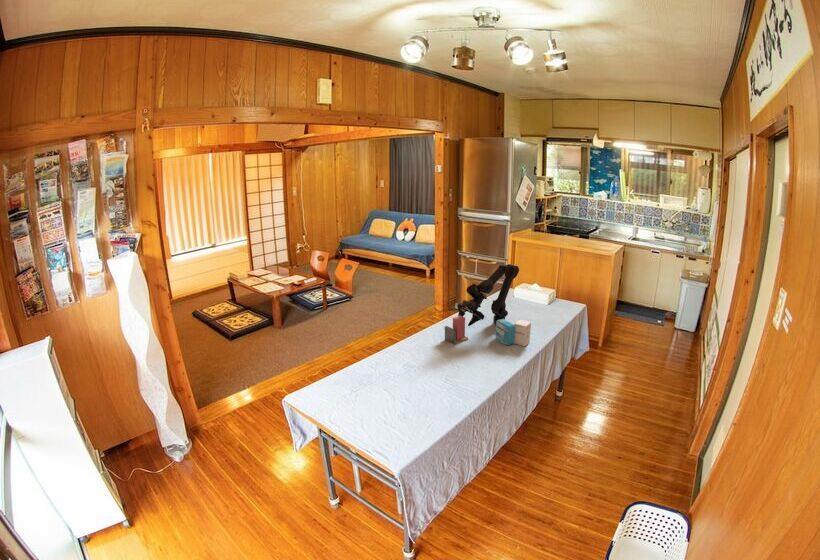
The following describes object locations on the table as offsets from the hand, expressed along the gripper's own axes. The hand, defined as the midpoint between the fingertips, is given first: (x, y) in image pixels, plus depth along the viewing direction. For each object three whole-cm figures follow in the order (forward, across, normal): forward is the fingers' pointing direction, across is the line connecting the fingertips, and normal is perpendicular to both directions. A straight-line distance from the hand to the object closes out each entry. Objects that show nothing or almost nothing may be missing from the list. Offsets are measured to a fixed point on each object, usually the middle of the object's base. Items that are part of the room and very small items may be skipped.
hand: (462, 323), depth 250 cm
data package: (-4, +19, +18) cm, 26 cm away
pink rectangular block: (+8, 0, +3) cm, 9 cm away
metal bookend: (+14, 0, -1) cm, 14 cm away
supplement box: (-8, +26, +22) cm, 35 cm away
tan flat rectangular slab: (+9, 0, +4) cm, 10 cm away
